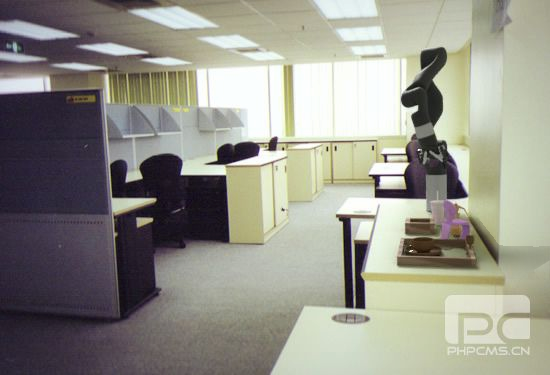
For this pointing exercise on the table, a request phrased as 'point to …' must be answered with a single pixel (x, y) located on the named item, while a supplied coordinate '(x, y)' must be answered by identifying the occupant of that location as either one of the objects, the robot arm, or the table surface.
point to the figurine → (457, 229)
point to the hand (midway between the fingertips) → (437, 170)
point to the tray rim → (437, 260)
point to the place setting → (430, 246)
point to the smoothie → (437, 210)
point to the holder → (420, 225)
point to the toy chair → (453, 221)
